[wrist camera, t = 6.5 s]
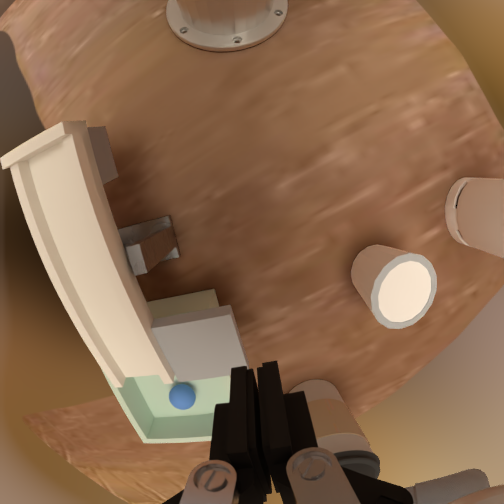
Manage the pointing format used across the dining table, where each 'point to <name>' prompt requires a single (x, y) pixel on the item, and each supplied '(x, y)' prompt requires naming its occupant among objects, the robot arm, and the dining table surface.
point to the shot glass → (394, 284)
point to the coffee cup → (338, 428)
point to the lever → (109, 265)
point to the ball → (182, 396)
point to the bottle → (477, 214)
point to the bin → (157, 393)
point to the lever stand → (149, 243)
